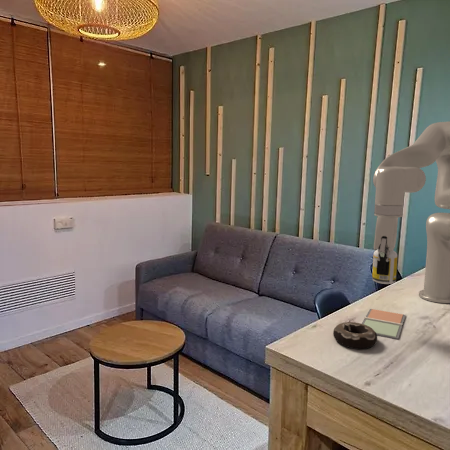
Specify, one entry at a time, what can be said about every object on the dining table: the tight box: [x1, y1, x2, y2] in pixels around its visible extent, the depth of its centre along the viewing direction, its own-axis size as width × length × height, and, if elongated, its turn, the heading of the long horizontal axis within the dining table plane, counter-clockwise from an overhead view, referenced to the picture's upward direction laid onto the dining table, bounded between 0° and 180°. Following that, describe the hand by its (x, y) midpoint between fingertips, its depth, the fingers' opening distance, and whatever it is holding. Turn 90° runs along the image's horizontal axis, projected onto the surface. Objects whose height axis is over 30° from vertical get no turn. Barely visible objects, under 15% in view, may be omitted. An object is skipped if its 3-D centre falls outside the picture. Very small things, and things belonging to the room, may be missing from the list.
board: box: [361, 308, 406, 340], centre depth 122 cm, size 20×11×1 cm, turn 150°
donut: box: [332, 321, 378, 350], centre depth 109 cm, size 12×12×4 cm
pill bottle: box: [371, 244, 398, 285], centre depth 114 cm, size 6×6×12 cm
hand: (384, 271), depth 115 cm, fingers closed on pill bottle, 6 cm apart
